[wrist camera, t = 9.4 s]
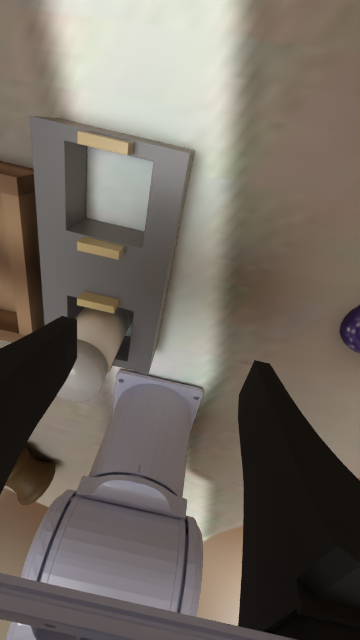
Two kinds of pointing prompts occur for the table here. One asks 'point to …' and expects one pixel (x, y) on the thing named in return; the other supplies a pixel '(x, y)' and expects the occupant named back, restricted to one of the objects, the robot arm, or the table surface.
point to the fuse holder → (105, 232)
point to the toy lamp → (351, 330)
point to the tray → (19, 254)
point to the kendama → (30, 477)
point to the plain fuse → (95, 351)
